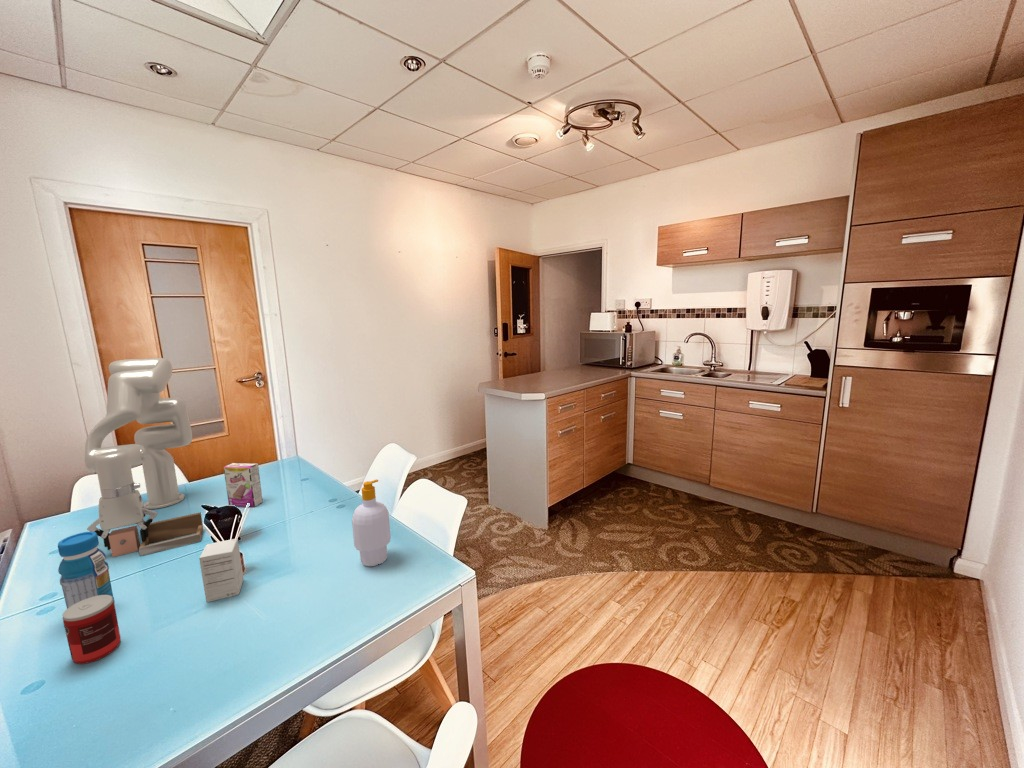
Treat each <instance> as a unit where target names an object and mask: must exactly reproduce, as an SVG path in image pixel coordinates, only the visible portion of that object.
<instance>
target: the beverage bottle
mask: <svg viewBox="0 0 1024 768" xmlns="http://www.w3.org/2000/svg"><path fill="white" fill-rule="evenodd" d="M99 542H100V541H99V536H98V535H97V533H96V532H90V531H84V532H79V533H76V534H72V535H69V536H67V537H65V538H63V539H61V540H60V541H58V543H57V550H58V554H59V556H60V557H61V558H62V560H61V561H60V563H59V566H58V569H57V571H58V572H57V573H58V574H59V575H60V577H59V584H60V586H61V589H62V592H63V598H64V601H65V607H66V609H68V608H69V607H70V606H72V605H74V604H76V603H78V602H80V601H82V600H84V599H87V598H90V597H94V596H99V595H110V596H112V598H113V601H114V604H115V603H116V601H115V596H114V593H113V588H112V582H111V576H110V571H109V569H110V567H109V564H108V562H107V561H106V559H107V556H106V554H105V553H104V551H103V550H101V549H100V548H99V546H100V545H99V544H100V543H99Z"/></svg>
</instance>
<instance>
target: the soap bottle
mask: <svg viewBox="0 0 1024 768" xmlns="http://www.w3.org/2000/svg"><path fill="white" fill-rule="evenodd" d="M378 482H379V479H374V480H371V481H370V480H369V481H365V482H363V483H362V485H363V487H362V488H361V500H362V504H359V505H358V506H357V507H356V508H355V509H354V512H353V515H352V519H351V526H352V537H353V546H354V548H355V549H356V550H357V551H359V560H360V563H361V565H363V566H366V567H376V566H378V564H379V565H381V564H383V563H384V562H385V561H386V560H387V558H388V548H387V546H388V544H389V543H390V542H391V526H390V525H391V523H390V513H389V509H388V508H387V506H386V505H385V504H384V503H383V502H381V501H377V498H376V489H375V488H376V487H375V486H374V485H373V484H374V483H378ZM382 562H383V563H382Z"/></svg>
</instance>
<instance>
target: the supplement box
mask: <svg viewBox="0 0 1024 768" xmlns="http://www.w3.org/2000/svg"><path fill="white" fill-rule="evenodd" d="M242 564H243V563H242V559H241V552H240V545H239V539H238V538H232V539H228V540H227V539H226V540H222V541H216V542H213V543H212V542H211V543H208V544H206V545H205V546H204V548H203V550H202V553H200V556H199V565H200V572H201V577H202V584H203V590H204V595H205V600H206V601H205V602H207V603H209V602H213V601H218V600H223V599H225V598H230V597H234V596H238V595H239V594H240V592H241V589H242V586H243V582H244V573H243V565H242Z"/></svg>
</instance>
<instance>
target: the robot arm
mask: <svg viewBox="0 0 1024 768" xmlns="http://www.w3.org/2000/svg"><path fill="white" fill-rule="evenodd" d="M108 371H109V373H110V376H109V377H108V381H107V397H106V398H107V400H106V401H107V402H106V414H105V416H104V417H103V418H102V419H101V420H100V421H99V422H98V423H97V424H95V425H94V426H93V428H92V429H91V430H90V432H89V434H88V435H87V437H86V438H85V439H86V440H85V446H84V448H85V449H84V464H85V467H86V469H87V470H89V471H90V472H94V473H96V474H97V479H98V484H99V485H98V486H99V489H100V495H101V497H100V498H99V500H98V518H97V519H96V520H95V521H93V522H92V523H91V524H90V525H89V526H87V528H86V530H87V532H96V533H97V535H98V537H99V538H101V539H103V545H104V547H105V548H107V551H111V547H110V542H109V537H108V536H109V534H110V533H111V532H110V531H112V530H113V529H115V530H116V529H120V528H125V527H127V526H128V527H130V526H132V525H133V526H134V525H137V527H139V528H140V530H139V533H140V541H141V543H142V542H145V540H146V538H147V537H148V529H147V527H148V526H149V525H150V524H151V523H153V522H154V520H155V519H156V517H157V516H158V514H159V513H158V512H157V511H154V510H156V509H162V508H166V507H170V506H173V505H176V504H178V503H180V502H182V501H183V500H185V494H183V493H181V492H179V484H178V479H177V472H176V468H175V467H176V466H175V460H174V457H173V455H172V454H171V453H169V452H168V451H167V449H175V448H181V447H186V446H188V445H189V446H190V445H191V443H192V441H193V431H192V427H191V426H192V425H191V421H190V417H189V410H188V407H187V404H186V402H185V400H184V399H182V398H180V397H163V398H162V397H161V395H160V394H161V393H162V392H163V391H164V390H166V388H167V385H168V384H169V381H170V379H171V378H172V375H173V366H172V363H171V361H169V359H167V358H165V357H150V358H149V357H148V358H129V359H120V360H114V361H112V362H110V364H109V365H108ZM134 421H136V422H137V424H141V425H150V426H145V427H142V428H140V429H138V430H137V431H135V433H134V440H133V441H134V443H132V444H131V443H130V444H122V445H114V446H104V447H102V444H103V442H104V440H105V439H106V437H108V435H109V434H111V433H112V432H113V431H116V430H117V429H119V428H121V427H123V426H126V425H127V424H130V423H133V422H134ZM163 423H170V424H163ZM152 424H158V425H152ZM159 424H160V425H159ZM151 425H152V426H151ZM141 465H142V473H143V477H144V482H145V483H144V484H145V488H146V493H147V499H148V500H146V502H144V501H143V498H142V495H141V493H140V491H139V490H138V489H139V488H141V483H136V482H135V481H134V479H133V471H132V469H134V468H137V467H139V466H141ZM146 516H149V518H148V519H147V520H145V519H144V518H145V517H146ZM98 525H99V527H100V528H98V527H97V526H98Z"/></svg>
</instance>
